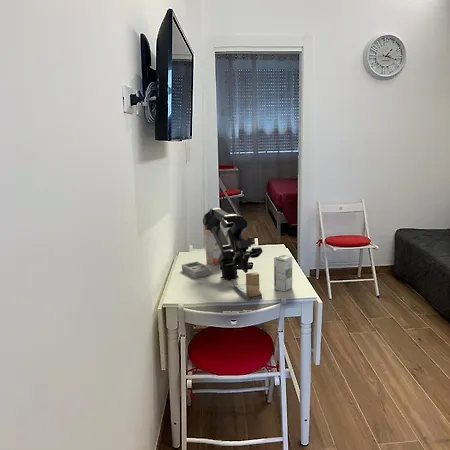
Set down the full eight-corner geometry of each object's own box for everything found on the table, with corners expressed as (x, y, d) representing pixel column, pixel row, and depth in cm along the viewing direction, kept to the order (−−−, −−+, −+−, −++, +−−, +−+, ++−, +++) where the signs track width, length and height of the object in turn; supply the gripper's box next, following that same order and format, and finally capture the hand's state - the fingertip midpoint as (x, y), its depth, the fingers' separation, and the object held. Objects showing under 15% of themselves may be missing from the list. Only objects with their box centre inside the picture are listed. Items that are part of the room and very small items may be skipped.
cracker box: (214, 265, 225) (210, 226, 220) (206, 263, 229) (202, 224, 224) (233, 258, 234) (230, 220, 229) (225, 256, 238) (222, 219, 234)
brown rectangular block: (246, 294, 180) (245, 273, 178) (256, 292, 181) (256, 272, 179) (249, 297, 177) (248, 275, 175) (259, 295, 178) (259, 274, 176)
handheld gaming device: (195, 279, 207) (195, 271, 206) (181, 271, 219) (181, 264, 218) (211, 275, 211) (211, 267, 211) (197, 268, 224) (197, 260, 223)
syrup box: (281, 285, 192) (280, 253, 189) (292, 288, 189) (292, 255, 186) (274, 289, 188) (273, 257, 185) (285, 292, 184) (285, 259, 181)
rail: (233, 288, 191) (233, 282, 191) (247, 286, 193) (247, 280, 193) (247, 301, 177) (247, 294, 176) (262, 298, 179) (262, 292, 178)
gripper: (222, 233, 181) (232, 267, 175) (261, 229, 189) (273, 261, 182) (214, 245, 191) (224, 278, 184) (252, 240, 198) (263, 272, 191)
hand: (246, 272), depth 185 cm, fingers closed
